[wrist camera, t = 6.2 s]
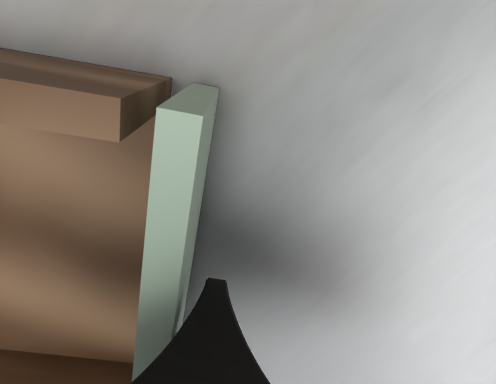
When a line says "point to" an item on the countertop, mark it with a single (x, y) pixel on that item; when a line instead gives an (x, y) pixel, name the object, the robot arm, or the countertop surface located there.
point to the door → (172, 216)
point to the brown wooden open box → (72, 216)
